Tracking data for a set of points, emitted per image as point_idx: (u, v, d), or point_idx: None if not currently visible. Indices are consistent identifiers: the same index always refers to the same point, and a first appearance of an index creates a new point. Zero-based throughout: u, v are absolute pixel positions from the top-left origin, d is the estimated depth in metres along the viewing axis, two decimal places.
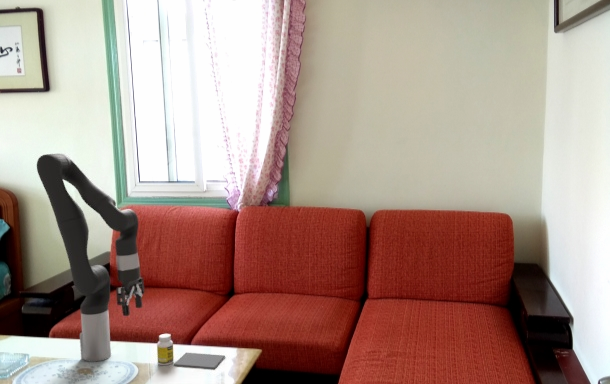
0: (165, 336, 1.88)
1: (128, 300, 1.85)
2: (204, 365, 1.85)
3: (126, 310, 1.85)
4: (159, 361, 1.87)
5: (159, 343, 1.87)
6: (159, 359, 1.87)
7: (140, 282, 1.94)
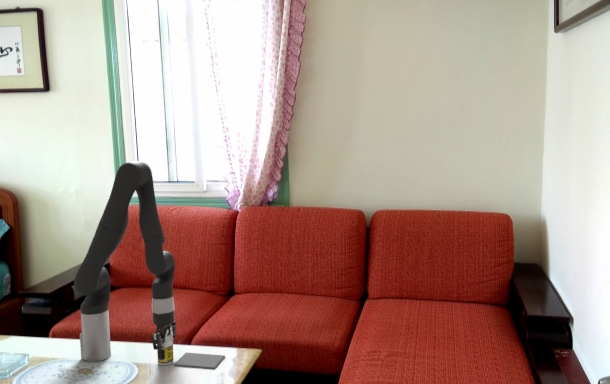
0: None
1: (164, 344, 1.85)
2: (204, 365, 1.85)
3: (161, 354, 1.85)
4: (159, 361, 1.87)
5: None
6: None
7: (173, 325, 1.93)
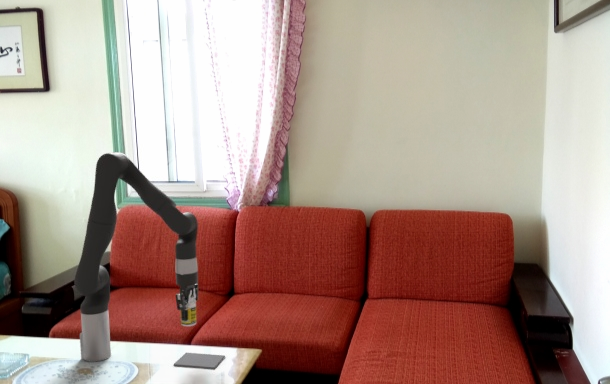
0: None
1: (187, 305, 1.85)
2: (204, 365, 1.85)
3: (185, 315, 1.85)
4: (182, 322, 1.87)
5: None
6: None
7: (195, 288, 1.93)
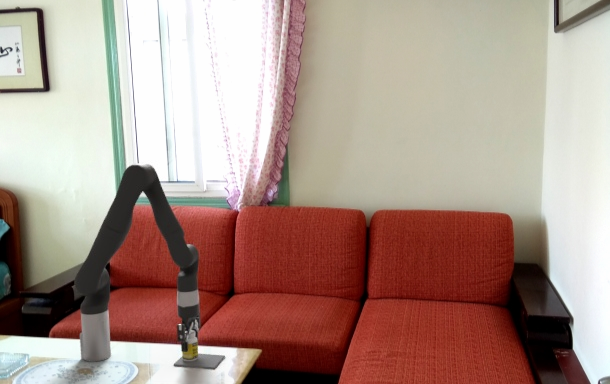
0: None
1: (187, 336, 1.85)
2: (204, 365, 1.85)
3: (185, 346, 1.85)
4: (184, 357, 1.88)
5: None
6: (184, 355, 1.88)
7: (197, 317, 1.94)
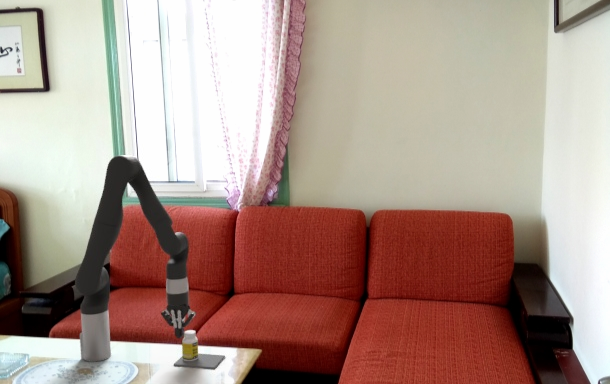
0: (190, 332, 1.89)
1: (175, 323, 1.89)
2: (204, 365, 1.85)
3: (175, 332, 1.90)
4: (184, 357, 1.88)
5: (184, 339, 1.88)
6: (184, 355, 1.88)
7: (189, 315, 1.88)
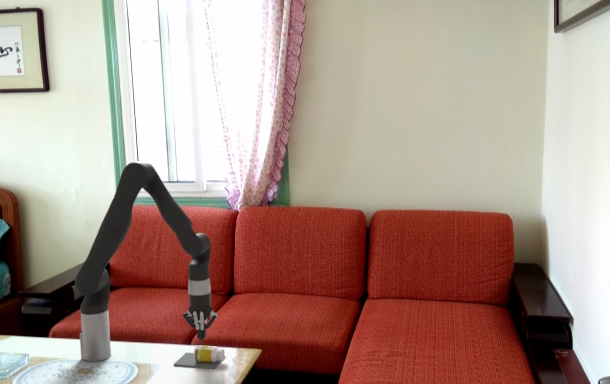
0: (222, 357, 1.87)
1: (197, 325, 1.87)
2: (204, 365, 1.85)
3: (197, 334, 1.88)
4: (196, 356, 1.86)
5: (214, 355, 1.85)
6: (198, 356, 1.86)
7: (211, 316, 1.86)
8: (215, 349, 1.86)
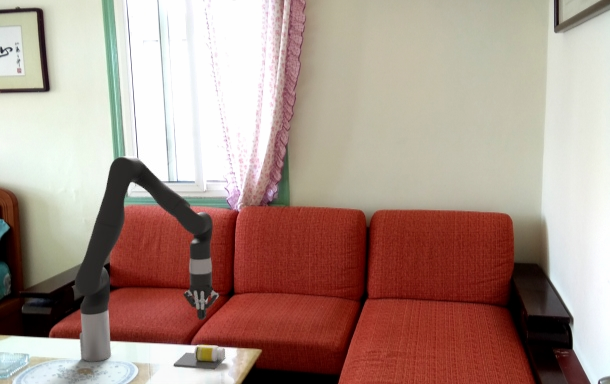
0: (222, 356, 1.87)
1: (197, 304, 1.86)
2: (204, 365, 1.85)
3: (198, 313, 1.87)
4: (197, 353, 1.86)
5: (215, 353, 1.86)
6: (199, 353, 1.86)
7: (212, 296, 1.85)
8: (216, 347, 1.87)
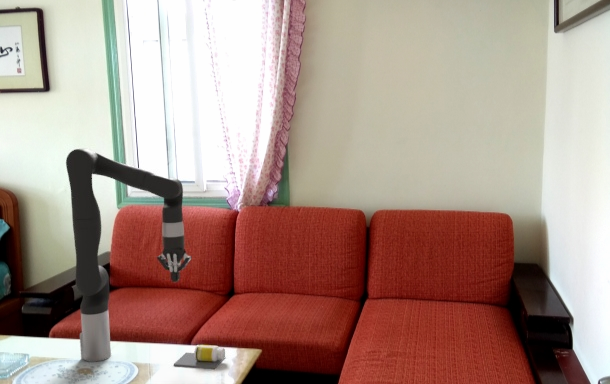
0: (222, 356, 1.87)
1: (171, 267, 1.92)
2: (204, 365, 1.85)
3: (171, 276, 1.93)
4: (197, 353, 1.86)
5: (215, 353, 1.86)
6: (199, 354, 1.86)
7: (184, 258, 1.91)
8: (216, 347, 1.87)
